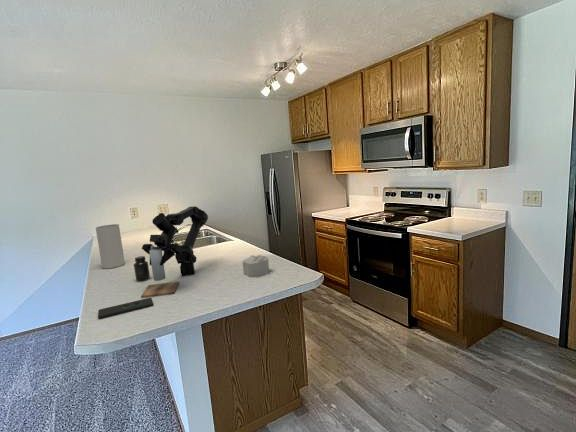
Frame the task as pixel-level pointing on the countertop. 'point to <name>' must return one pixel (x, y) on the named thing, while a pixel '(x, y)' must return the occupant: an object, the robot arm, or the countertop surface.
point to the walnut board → (160, 289)
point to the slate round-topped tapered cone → (157, 264)
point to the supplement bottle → (141, 269)
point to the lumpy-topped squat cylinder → (255, 266)
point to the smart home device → (125, 308)
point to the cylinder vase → (110, 246)
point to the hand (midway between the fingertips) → (155, 265)
